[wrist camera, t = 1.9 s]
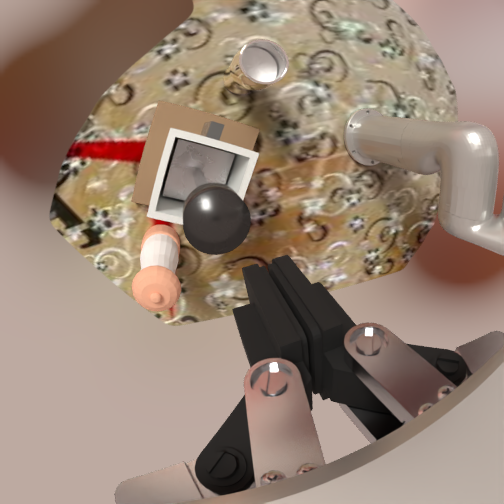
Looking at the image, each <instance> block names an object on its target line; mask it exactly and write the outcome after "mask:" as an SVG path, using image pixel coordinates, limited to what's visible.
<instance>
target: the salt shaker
mask: <svg viewBox="0 0 504 504" xmlns="http://www.w3.org/2000/svg"><path fill="white" fill-rule="evenodd" d="M179 253H180V239H179V236H178V234H177V232H176V231H175V230H174V229H173V228H171V227H169V226H166V225H155V226H153V227H151V228H150V229H148V230H147V231H146V233H145V235H144V237H143V241H142V245H141V256H140V261H141V271H140V272H138V273H137V274H136V276H135V278H134V279H133V283H132V290H133V295H134V297H135V299H136V301H137V302H138V303H139V304H140V305H141V306H142V307H144V308H146V309H148V310H151V311H163V310H166V309H169V308H170V307H172V306H173V305H175V303H176V302H177V301H178V299H179V297H180V293H181V284H180V281H179V279H178V277H177V276H176V275H175V271H176V268H177V264H178V261H179V259H178V257H179Z"/></svg>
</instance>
